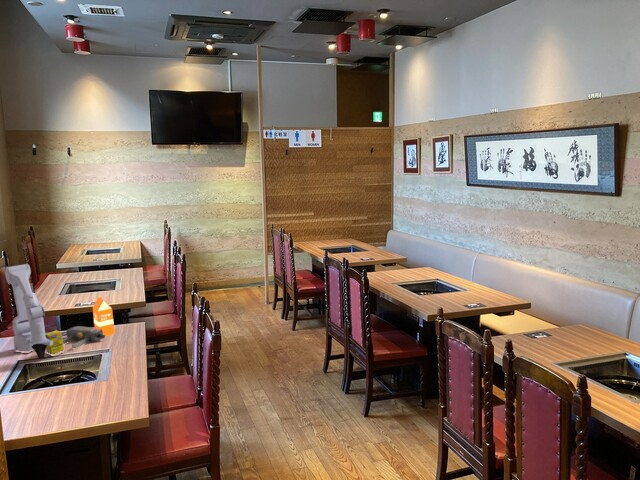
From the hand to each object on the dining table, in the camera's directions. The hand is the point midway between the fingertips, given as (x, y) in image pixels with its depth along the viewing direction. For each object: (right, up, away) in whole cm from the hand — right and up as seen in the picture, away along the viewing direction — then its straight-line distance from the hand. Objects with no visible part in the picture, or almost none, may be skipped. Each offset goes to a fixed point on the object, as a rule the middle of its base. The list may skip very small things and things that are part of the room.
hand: (41, 358), depth 237 cm
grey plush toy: (+8, +3, +21) cm, 23 cm away
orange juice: (+16, +5, +34) cm, 38 cm away
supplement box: (+2, 0, +8) cm, 9 cm away
